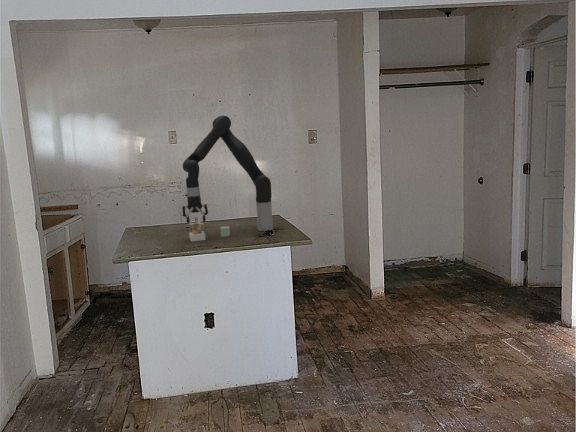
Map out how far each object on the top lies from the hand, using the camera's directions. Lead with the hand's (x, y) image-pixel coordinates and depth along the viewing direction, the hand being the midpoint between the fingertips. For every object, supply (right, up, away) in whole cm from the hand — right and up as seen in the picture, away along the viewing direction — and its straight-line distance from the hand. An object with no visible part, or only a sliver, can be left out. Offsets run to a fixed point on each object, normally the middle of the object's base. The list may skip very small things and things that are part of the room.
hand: (196, 222), depth 297 cm
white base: (0, -10, +2) cm, 10 cm away
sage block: (+16, -8, +8) cm, 19 cm away
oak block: (0, -6, +1) cm, 6 cm away
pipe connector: (-3, -7, +21) cm, 23 cm away
